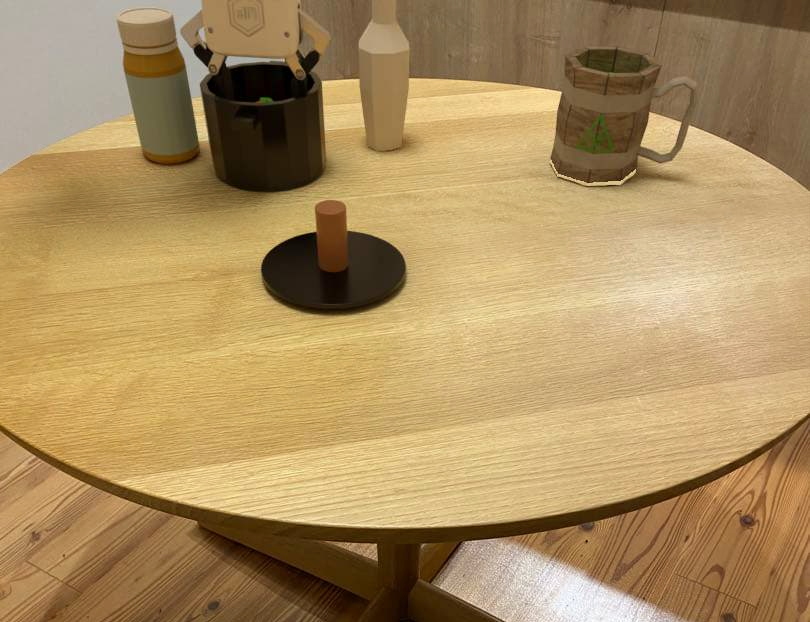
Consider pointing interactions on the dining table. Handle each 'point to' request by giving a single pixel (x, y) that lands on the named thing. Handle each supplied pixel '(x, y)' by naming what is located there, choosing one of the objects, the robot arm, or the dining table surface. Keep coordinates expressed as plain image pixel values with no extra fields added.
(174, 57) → the bottle
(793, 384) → the dining table surface
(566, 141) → the mug
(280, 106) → the pot
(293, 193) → the dining table surface
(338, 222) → the lid
